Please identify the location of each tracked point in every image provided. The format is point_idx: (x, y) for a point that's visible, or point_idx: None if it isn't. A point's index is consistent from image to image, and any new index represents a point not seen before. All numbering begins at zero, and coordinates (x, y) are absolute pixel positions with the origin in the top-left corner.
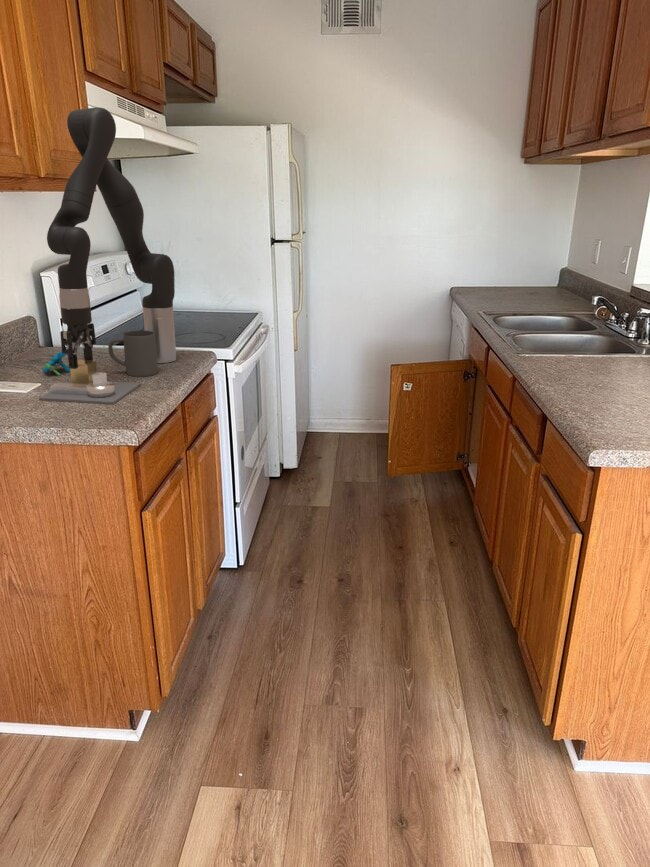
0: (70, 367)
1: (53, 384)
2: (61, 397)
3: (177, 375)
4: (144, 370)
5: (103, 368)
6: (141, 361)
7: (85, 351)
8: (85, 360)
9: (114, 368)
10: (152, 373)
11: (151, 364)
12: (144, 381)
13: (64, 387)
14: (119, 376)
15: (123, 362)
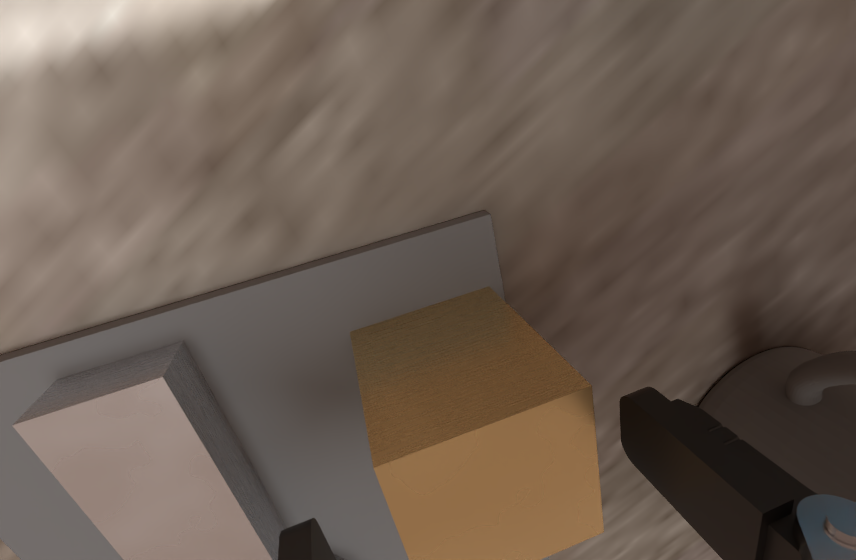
0: (287, 542)
1: (82, 404)
2: (42, 516)
3: None
4: None
5: (846, 139)
6: None
7: (718, 494)
8: (578, 469)
9: (844, 210)
10: None
11: None
12: (613, 530)
13: (99, 525)
14: (676, 371)
15: (809, 397)
